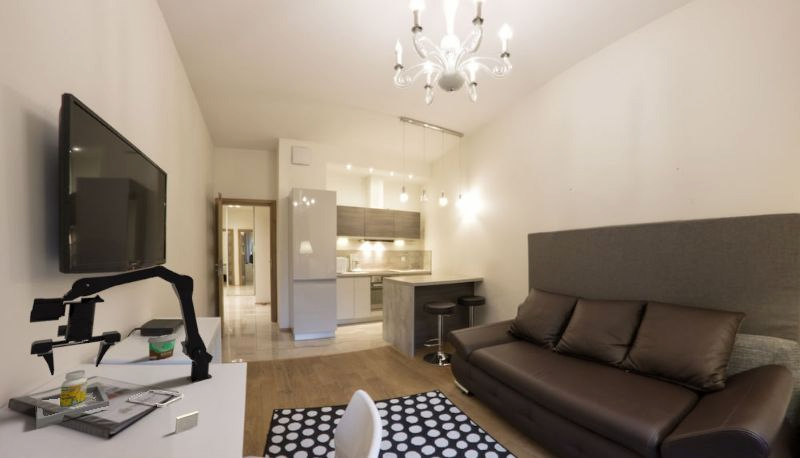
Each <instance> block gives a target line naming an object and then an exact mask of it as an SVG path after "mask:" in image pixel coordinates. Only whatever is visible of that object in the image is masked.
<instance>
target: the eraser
mask: <svg viewBox="0 0 800 458" xmlns="http://www.w3.org/2000/svg"><path fill="white" fill-rule="evenodd" d="M199 413H200V412H199V411H198V410H196V411H192V412H189V413H185V414H183V415H179V416H177V417H175V430H174V432H175V433H176V434H179V433H181V432H185V431H187V430H190V429H193V428H196V427H198V426H199Z"/></svg>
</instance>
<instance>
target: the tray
mask: <svg viewBox="0 0 800 458" xmlns="http://www.w3.org/2000/svg"><path fill="white" fill-rule="evenodd" d="M92 392H93V394H92V395H93V397H95V396H96V398H95V399H96V401H99V403H95V404H91V405H87V406H83V407H79V408H75V409H71V410H67V411H63V412H59V413H55V414H52V415H48V416H44V415H43V409H42V408H38V407H37V412H36V411H35V429H36V430H39V429H43V428H47V427H50V426H54V425H58V424H60V423H61V424H62V423H63V422H62V419H63V417H64V415H68V414H74V413H80V412H85V411H89V410H93V409H97V408H101V407H106V406H109V407H110V400H109V399H110V398H109V397H108V395H107V393H106V392H105V389H104V388H103V386H102V384H96V385H92V386H87V389H86V393H92ZM60 397H61V392H60V393H57V394H51V395H47V396H43V397H38V398H36V400H37V404H40V405H41V406H42V400H49V399H58V398H60ZM95 399H92V400H95ZM100 401H101V402H100Z"/></svg>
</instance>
